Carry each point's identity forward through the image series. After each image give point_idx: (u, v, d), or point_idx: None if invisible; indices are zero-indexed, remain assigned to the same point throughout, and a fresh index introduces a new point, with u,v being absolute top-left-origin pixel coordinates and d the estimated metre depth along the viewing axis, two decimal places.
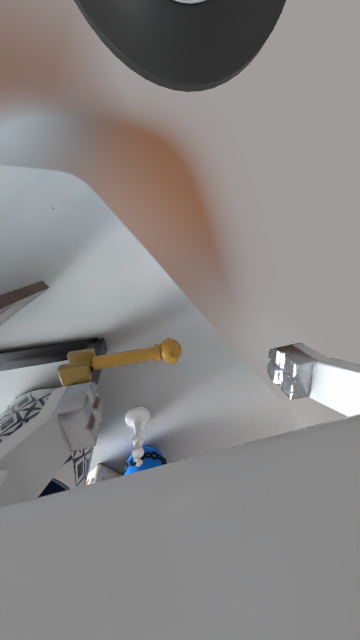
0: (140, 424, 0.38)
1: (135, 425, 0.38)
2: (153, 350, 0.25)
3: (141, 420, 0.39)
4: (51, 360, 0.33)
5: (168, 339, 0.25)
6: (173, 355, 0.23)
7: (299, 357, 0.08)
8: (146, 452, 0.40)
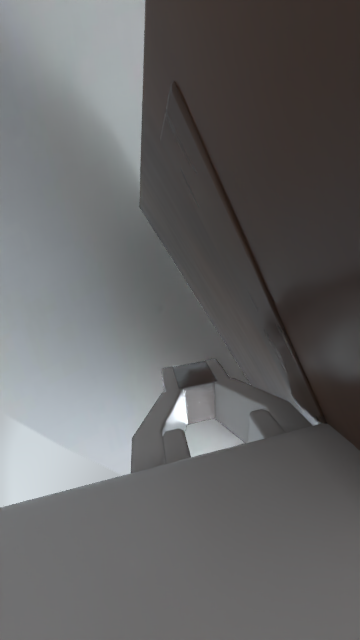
0: None
1: None
2: None
3: None
4: None
5: None
6: None
7: (201, 376, 0.08)
8: None
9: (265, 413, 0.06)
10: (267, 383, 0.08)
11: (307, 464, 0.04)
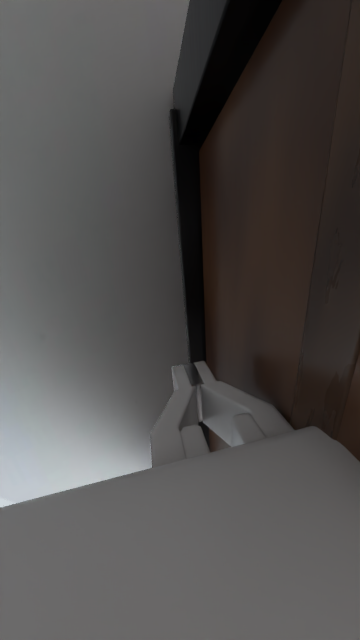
0: None
1: None
2: None
3: None
4: None
5: None
6: None
7: (188, 379, 0.08)
8: None
9: (247, 417, 0.06)
10: (249, 368, 0.07)
11: (307, 464, 0.04)
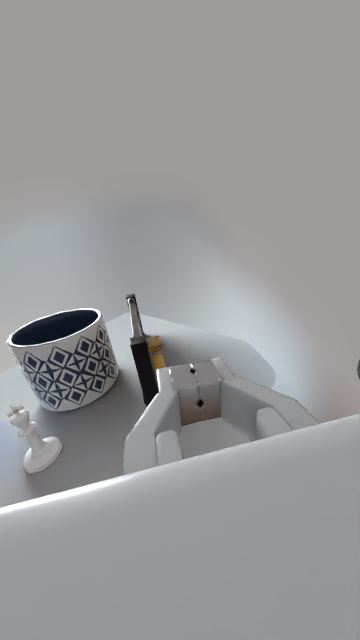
0: (38, 445, 0.28)
1: (41, 439, 0.29)
2: None
3: (41, 450, 0.28)
4: None
5: None
6: None
7: (207, 375, 0.08)
8: None
9: (272, 411, 0.06)
10: None
11: (307, 464, 0.04)
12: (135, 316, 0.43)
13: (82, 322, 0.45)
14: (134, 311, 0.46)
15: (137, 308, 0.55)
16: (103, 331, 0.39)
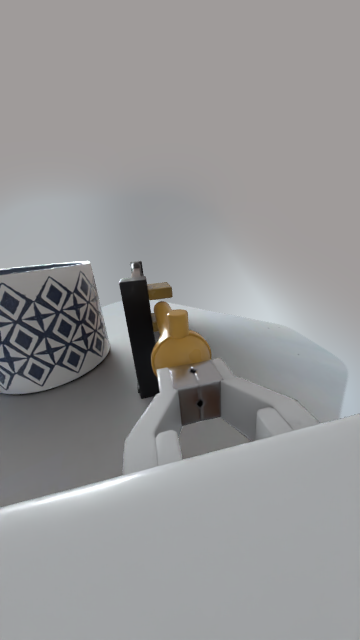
0: None
1: None
2: None
3: None
4: None
5: None
6: (187, 320, 0.10)
7: (207, 375, 0.08)
8: None
9: (272, 411, 0.06)
10: None
11: (307, 464, 0.04)
12: (137, 273, 0.31)
13: None
14: (137, 271, 0.34)
15: None
16: (89, 284, 0.27)
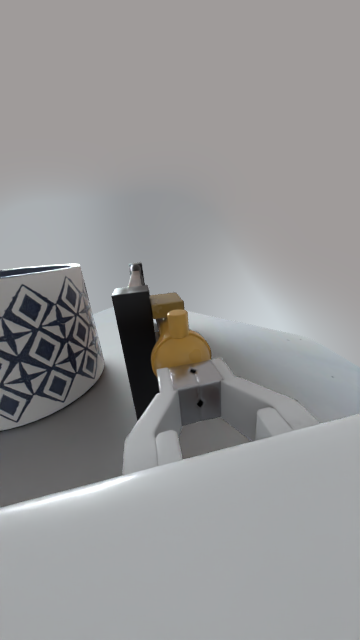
0: None
1: None
2: None
3: None
4: None
5: None
6: (187, 320, 0.10)
7: (207, 375, 0.08)
8: None
9: (272, 411, 0.06)
10: None
11: (307, 464, 0.04)
12: (137, 278, 0.26)
13: None
14: (137, 275, 0.29)
15: (143, 282, 0.39)
16: (77, 293, 0.22)
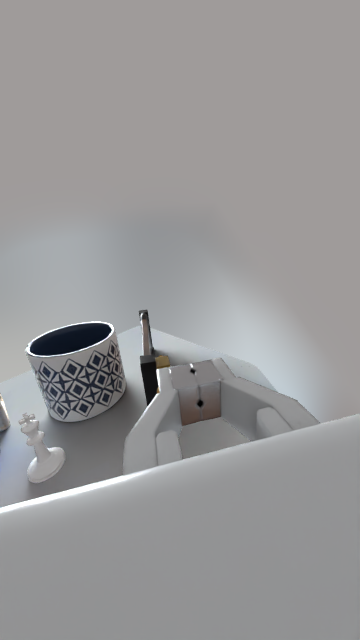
0: (44, 455, 0.29)
1: (47, 449, 0.30)
2: None
3: (45, 461, 0.29)
4: None
5: None
6: None
7: (207, 375, 0.08)
8: None
9: (272, 411, 0.06)
10: None
11: (307, 464, 0.04)
12: (146, 333, 0.44)
13: (95, 334, 0.47)
14: (146, 327, 0.47)
15: None
16: (115, 346, 0.40)
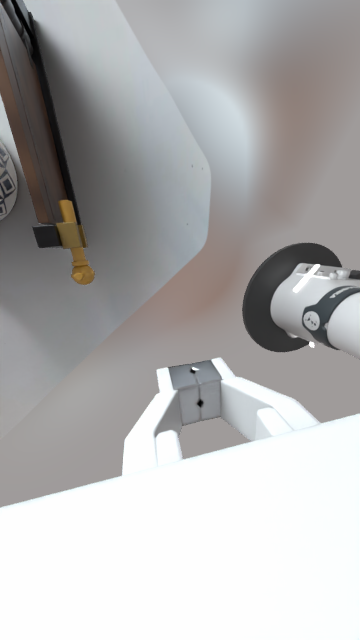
0: None
1: None
2: (83, 259, 0.28)
3: None
4: None
5: (94, 273, 0.29)
6: (83, 277, 0.27)
7: (207, 375, 0.08)
8: None
9: (272, 411, 0.06)
10: (45, 154, 0.26)
11: (307, 464, 0.04)
12: (13, 103, 0.20)
13: None
14: (0, 59, 0.19)
15: None
16: None
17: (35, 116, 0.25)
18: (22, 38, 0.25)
